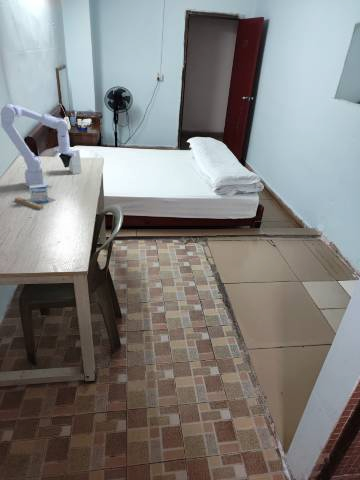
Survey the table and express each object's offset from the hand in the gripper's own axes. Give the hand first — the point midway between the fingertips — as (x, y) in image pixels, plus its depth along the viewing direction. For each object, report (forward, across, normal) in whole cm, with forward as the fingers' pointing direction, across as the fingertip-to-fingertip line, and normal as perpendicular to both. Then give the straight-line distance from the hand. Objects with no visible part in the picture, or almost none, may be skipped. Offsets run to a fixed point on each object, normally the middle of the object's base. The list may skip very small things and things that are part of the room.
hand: (66, 167), depth 188 cm
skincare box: (+11, +12, -18) cm, 24 cm away
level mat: (+10, -5, +26) cm, 29 cm away
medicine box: (+11, -6, +26) cm, 29 cm away
